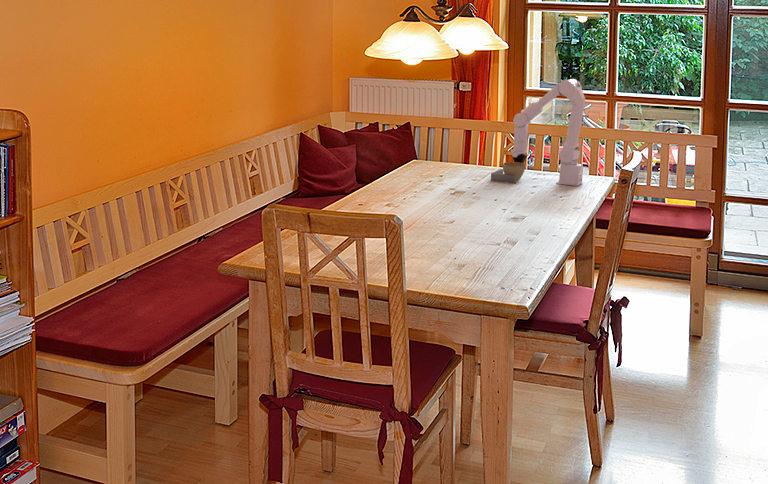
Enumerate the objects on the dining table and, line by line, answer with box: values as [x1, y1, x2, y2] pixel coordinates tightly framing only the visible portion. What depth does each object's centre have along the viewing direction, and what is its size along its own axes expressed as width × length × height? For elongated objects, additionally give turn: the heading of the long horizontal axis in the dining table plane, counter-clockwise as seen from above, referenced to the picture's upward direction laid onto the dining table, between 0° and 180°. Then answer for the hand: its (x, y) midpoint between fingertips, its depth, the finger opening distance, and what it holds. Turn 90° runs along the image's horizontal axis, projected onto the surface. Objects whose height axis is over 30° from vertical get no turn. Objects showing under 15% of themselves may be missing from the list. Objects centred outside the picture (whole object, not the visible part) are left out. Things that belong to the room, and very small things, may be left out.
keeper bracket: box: [490, 168, 517, 184], centre depth 362 cm, size 11×12×4 cm
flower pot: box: [502, 161, 526, 182], centre depth 361 cm, size 10×10×7 cm
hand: (518, 171), depth 367 cm, fingers closed
